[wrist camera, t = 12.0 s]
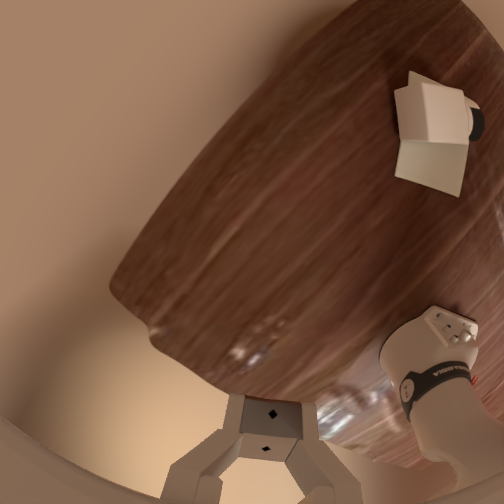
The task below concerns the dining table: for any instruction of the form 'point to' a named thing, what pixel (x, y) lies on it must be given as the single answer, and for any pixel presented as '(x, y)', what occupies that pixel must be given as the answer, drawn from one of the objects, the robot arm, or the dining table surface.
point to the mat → (432, 158)
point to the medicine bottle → (437, 115)
